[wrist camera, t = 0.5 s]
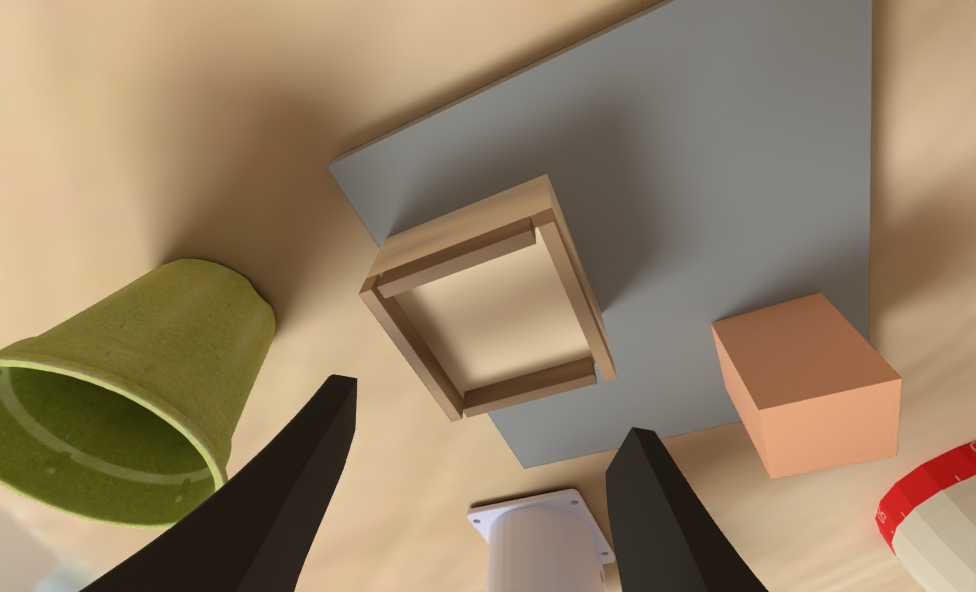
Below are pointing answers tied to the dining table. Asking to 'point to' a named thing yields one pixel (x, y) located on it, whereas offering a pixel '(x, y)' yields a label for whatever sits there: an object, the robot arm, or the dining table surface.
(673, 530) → the robot arm
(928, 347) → the dining table surface
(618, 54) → the grey board
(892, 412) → the terracotta block
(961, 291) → the dining table surface
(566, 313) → the birch socket block
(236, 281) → the plant pot
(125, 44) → the dining table surface
